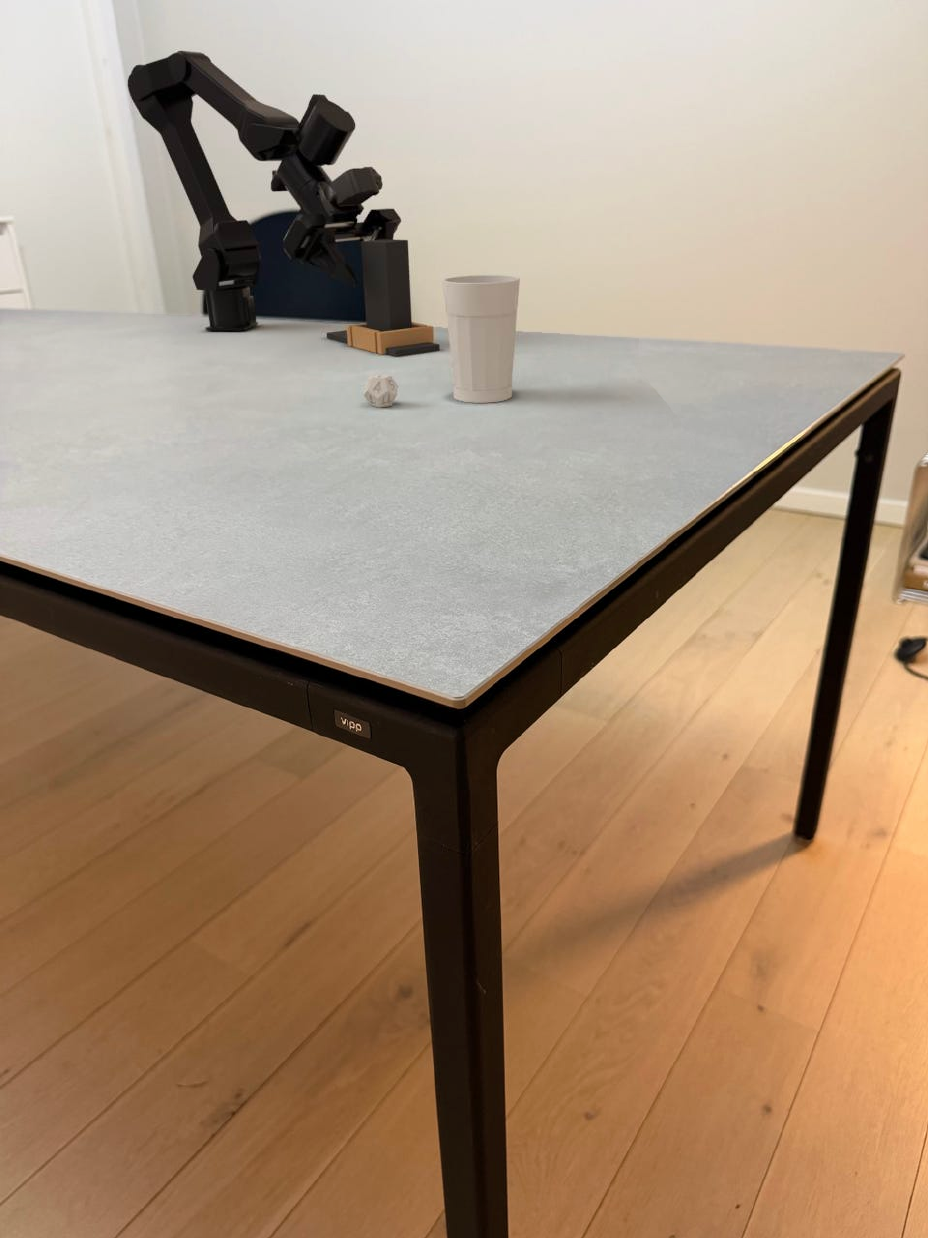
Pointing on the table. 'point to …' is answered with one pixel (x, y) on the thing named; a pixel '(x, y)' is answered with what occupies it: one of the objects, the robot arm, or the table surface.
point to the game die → (381, 390)
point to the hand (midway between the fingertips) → (378, 280)
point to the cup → (482, 335)
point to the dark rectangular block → (386, 284)
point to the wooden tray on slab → (388, 339)
